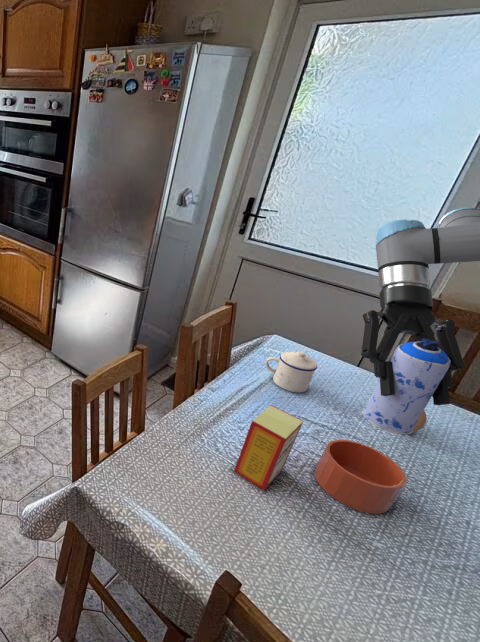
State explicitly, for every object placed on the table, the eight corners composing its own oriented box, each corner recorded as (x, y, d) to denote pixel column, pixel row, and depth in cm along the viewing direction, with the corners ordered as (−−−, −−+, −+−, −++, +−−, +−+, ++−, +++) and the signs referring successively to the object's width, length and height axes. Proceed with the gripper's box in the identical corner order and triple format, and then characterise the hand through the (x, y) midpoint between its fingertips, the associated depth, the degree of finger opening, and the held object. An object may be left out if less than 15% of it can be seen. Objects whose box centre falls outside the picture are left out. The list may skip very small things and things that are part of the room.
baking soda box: (252, 453, 103) (271, 403, 97) (282, 470, 98) (304, 419, 92) (233, 471, 99) (252, 420, 92) (263, 490, 94) (285, 438, 87)
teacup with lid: (309, 383, 128) (322, 351, 123) (306, 397, 121) (319, 365, 116) (263, 368, 135) (274, 337, 130) (258, 381, 129) (269, 350, 124)
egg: (423, 438, 107) (437, 415, 103) (398, 434, 108) (411, 411, 105) (411, 425, 111) (424, 402, 108) (387, 420, 113) (399, 398, 109)
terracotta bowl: (388, 483, 95) (403, 458, 91) (392, 525, 86) (409, 499, 82) (316, 455, 102) (327, 431, 99) (312, 490, 93) (325, 465, 90)
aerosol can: (411, 419, 86) (458, 338, 78) (414, 441, 81) (464, 357, 73) (361, 402, 91) (401, 325, 83) (361, 422, 86) (403, 341, 77)
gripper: (453, 303, 86) (467, 413, 80) (335, 290, 93) (339, 390, 86) (484, 290, 80) (502, 410, 73) (355, 277, 86) (360, 386, 79)
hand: (414, 399), depth 80 cm, fingers closed on aerosol can, 7 cm apart
